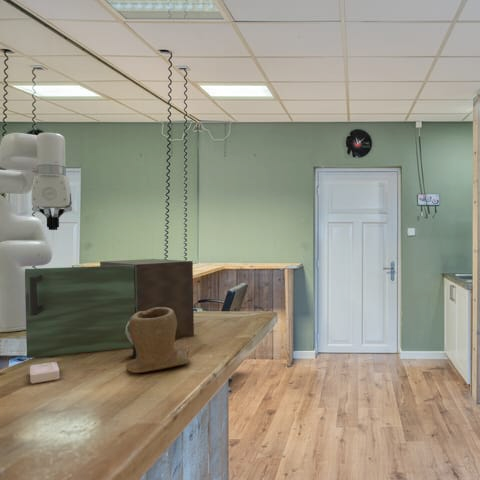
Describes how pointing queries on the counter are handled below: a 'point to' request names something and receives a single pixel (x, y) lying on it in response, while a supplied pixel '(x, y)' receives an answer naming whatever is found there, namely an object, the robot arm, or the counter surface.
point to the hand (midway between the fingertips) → (53, 229)
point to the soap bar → (44, 372)
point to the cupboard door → (78, 309)
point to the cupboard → (164, 289)
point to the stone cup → (155, 341)
